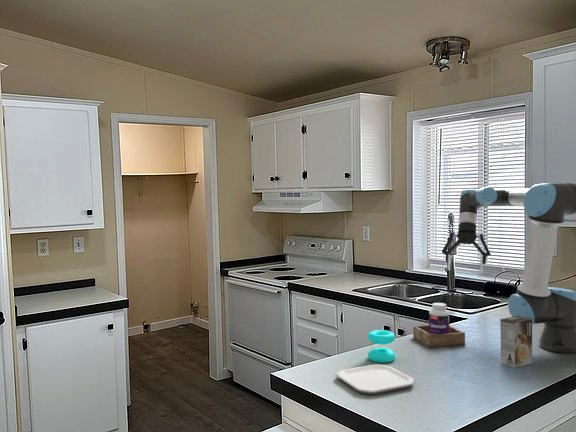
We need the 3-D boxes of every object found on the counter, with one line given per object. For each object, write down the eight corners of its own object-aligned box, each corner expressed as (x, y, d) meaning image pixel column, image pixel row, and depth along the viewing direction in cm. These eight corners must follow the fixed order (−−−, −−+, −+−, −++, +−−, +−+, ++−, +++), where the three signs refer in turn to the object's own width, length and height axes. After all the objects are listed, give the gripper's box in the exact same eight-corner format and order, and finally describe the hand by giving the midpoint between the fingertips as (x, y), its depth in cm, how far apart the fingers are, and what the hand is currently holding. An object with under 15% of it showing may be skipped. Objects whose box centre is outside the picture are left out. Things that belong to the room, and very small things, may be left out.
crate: (465, 345, 208) (465, 332, 208) (430, 348, 205) (430, 335, 205) (446, 335, 223) (446, 323, 223) (413, 337, 220) (413, 326, 220)
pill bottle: (427, 340, 212) (427, 305, 211) (430, 335, 219) (429, 301, 219) (448, 342, 209) (448, 306, 208) (450, 337, 216) (450, 302, 216)
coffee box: (517, 359, 191) (517, 315, 190) (532, 364, 185) (533, 319, 184) (499, 363, 186) (499, 318, 186) (515, 368, 181) (515, 322, 180)
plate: (364, 400, 157) (363, 392, 157) (331, 378, 176) (331, 371, 176) (420, 388, 165) (420, 381, 165) (383, 368, 184) (383, 362, 184)
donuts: (399, 335, 189) (373, 337, 187) (399, 362, 189) (373, 364, 187) (388, 328, 198) (363, 330, 196) (389, 354, 199) (364, 356, 197)
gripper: (498, 226, 230) (496, 274, 225) (440, 225, 242) (437, 270, 236) (496, 221, 224) (494, 270, 218) (437, 220, 235) (434, 266, 230)
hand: (464, 270), depth 227 cm, fingers open, 13 cm apart
